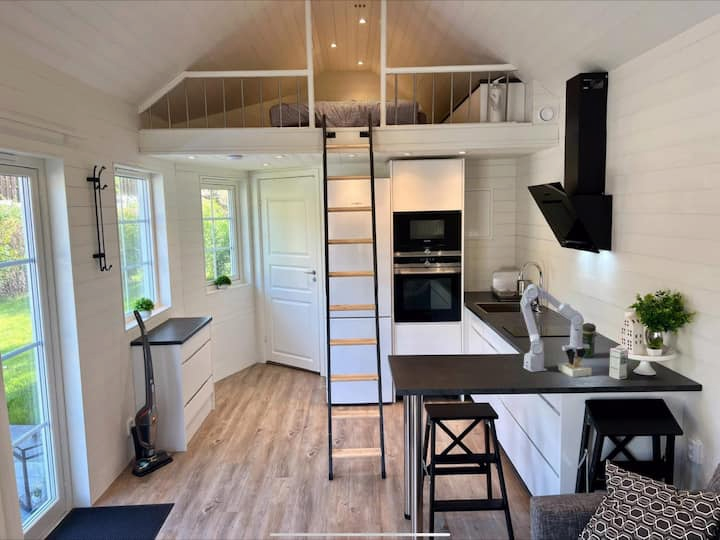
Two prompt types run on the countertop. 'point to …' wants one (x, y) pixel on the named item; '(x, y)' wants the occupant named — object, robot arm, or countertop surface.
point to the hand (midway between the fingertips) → (575, 363)
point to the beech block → (576, 362)
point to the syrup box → (618, 363)
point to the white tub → (574, 370)
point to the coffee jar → (589, 339)
